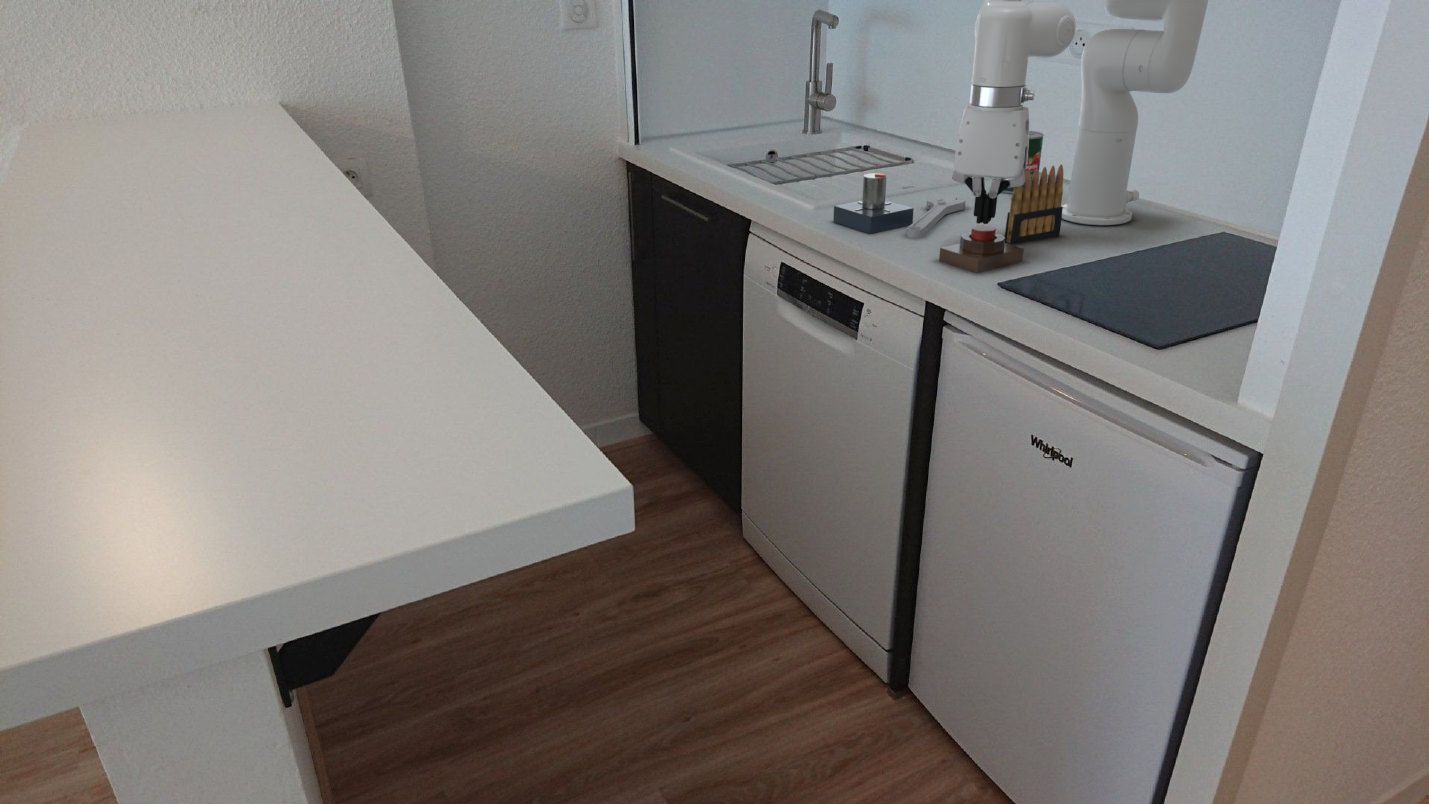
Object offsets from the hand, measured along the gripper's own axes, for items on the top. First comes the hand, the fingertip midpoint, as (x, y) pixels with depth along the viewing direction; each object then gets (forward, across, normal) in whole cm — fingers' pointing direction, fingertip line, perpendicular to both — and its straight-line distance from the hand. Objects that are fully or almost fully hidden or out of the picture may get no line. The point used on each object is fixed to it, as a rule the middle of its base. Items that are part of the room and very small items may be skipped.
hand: (983, 221), depth 146 cm
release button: (+3, 0, 0) cm, 3 cm away
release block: (+6, 0, 0) cm, 6 cm away
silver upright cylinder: (+3, +23, -16) cm, 28 cm away
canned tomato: (+6, +4, -51) cm, 52 cm away
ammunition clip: (+6, -5, -16) cm, 18 cm away
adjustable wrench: (+6, +14, -22) cm, 27 cm away
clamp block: (+6, +23, -16) cm, 28 cm away
